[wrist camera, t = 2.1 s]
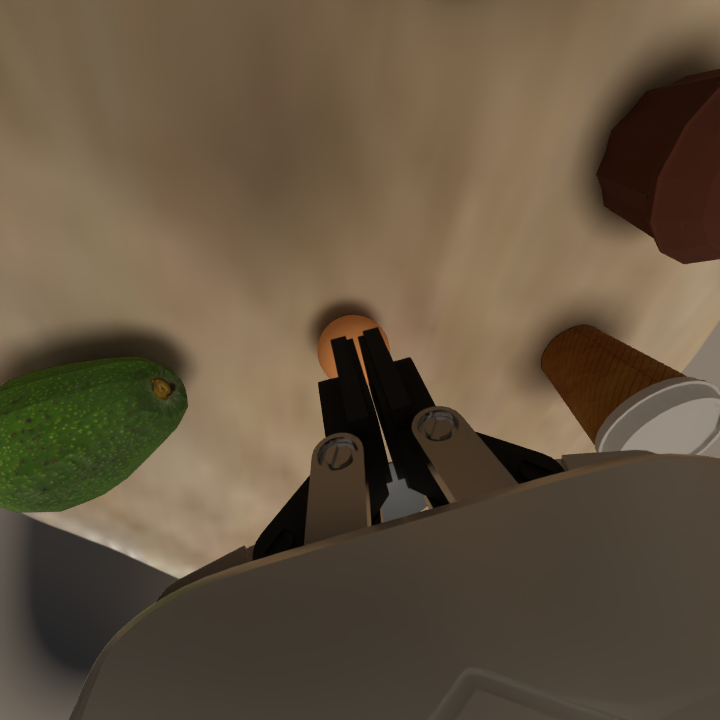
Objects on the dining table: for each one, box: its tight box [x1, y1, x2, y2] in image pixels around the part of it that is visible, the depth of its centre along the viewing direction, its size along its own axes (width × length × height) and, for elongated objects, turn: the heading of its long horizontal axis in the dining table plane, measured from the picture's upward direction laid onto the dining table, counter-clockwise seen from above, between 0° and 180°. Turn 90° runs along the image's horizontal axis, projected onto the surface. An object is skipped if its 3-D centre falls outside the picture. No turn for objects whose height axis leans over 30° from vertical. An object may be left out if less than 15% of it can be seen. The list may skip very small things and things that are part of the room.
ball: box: [318, 315, 390, 384], centre depth 29 cm, size 6×6×6 cm
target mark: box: [381, 462, 427, 522], centre depth 46 cm, size 12×12×1 cm
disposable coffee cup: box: [541, 325, 720, 455], centre depth 33 cm, size 10×10×12 cm
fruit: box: [0, 357, 188, 513], centre depth 27 cm, size 15×10×10 cm, turn 108°
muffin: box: [596, 69, 720, 264], centre depth 24 cm, size 12×11×10 cm
